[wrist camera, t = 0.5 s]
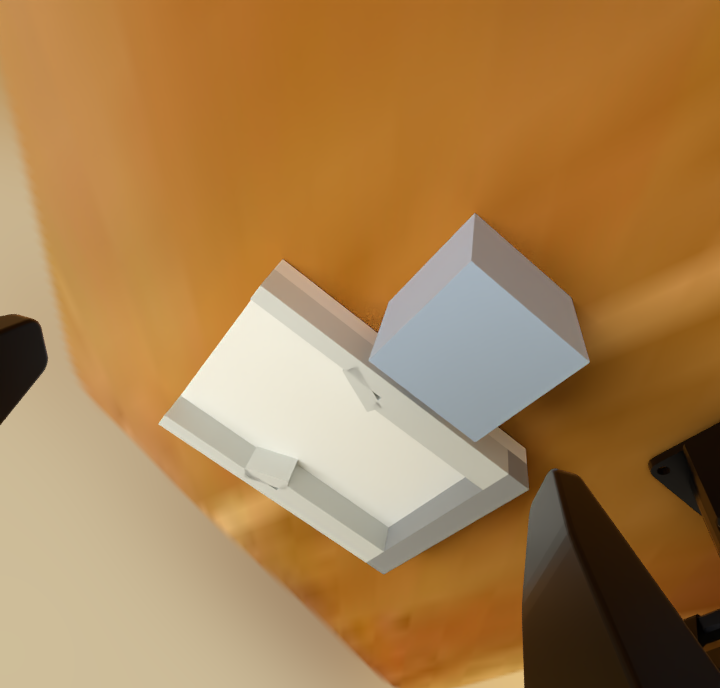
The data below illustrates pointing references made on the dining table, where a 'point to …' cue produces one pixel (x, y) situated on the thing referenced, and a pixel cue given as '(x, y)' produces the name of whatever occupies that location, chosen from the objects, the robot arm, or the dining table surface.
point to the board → (338, 429)
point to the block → (479, 332)
